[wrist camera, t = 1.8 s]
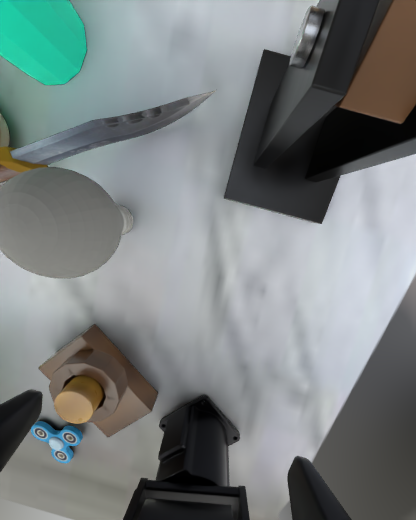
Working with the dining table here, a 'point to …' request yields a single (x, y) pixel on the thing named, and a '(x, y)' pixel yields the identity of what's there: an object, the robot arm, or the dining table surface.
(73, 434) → the toy
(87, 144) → the knife
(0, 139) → the toy boat
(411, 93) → the lever
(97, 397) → the button
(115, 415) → the button box
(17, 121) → the dining table surface
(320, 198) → the bracket
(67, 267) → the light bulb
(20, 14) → the candle
